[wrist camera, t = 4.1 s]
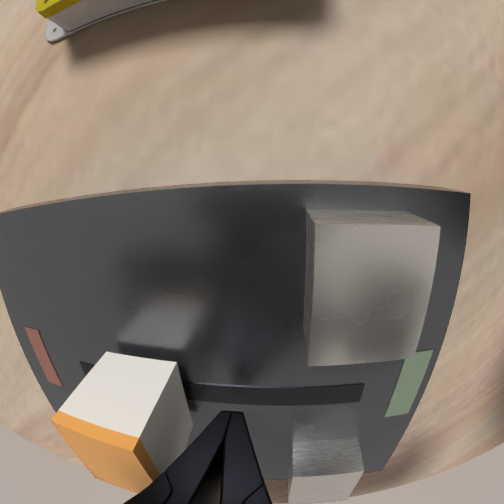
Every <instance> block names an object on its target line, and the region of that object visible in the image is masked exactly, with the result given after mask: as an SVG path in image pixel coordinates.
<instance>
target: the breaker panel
mask: <svg viewBox="0 0 504 504" xmlns="http://www.w3.org/2000/svg"><path fill="white" fill-rule="evenodd" d="M469 209H470V193H466V192H462V191H457V190H452V189H447V188H442V187H433V186H422V185H410V184H396V183H379V182H357V181H316V180H284V181H242V182H220V183H203V184H188V185H175V186H163V187H152V188H142V189H133V190H124V191H116V192H108V193H100V194H93V195H86V196H80V197H73V198H67V199H61V200H55V201H49V202H44V203H38V204H33V205H28V206H23V207H18V208H13V209H9V210H6V211H2V212H0V289H1V292H2V295H3V299H4V302H5V305H6V308H7V311H8V314H9V316H10V319H11V322H12V325H13V327H14V330H15V332H16V335H17V337H18V340H19V342H20V345H21V347H22V349H23V351H24V354H25V356H26V358H27V360H28V362H29V364H30V366H31V369H32V371H33V373H34V375H35V377H36V378H37V380H38V382H39V384H40V386H41V388H42V390H43V391H44V393H45V395H46V397H47V399H48V400H49V402H50V404H51V405H52V407H53V409H54V410H55V412H56V413H57V411H58V410H59V409H60V408H61V406H62V405H63V404H64V402H65V401H66V400H67V399H68V397H69V396H70V395H71V394H72V392H73V391H74V390H75V389H76V388H77V386H78V385H79V384H80V383H81V381H82V380H83V379H84V378H85V377H86V375H87V374H88V373H89V372H90V371H91V369H92V368H93V367H94V366H95V365H96V363H97V362H98V361H99V360H100V359H101V357H102V356H103V355H104V354H105V353H106V352H112V353H117V354H123V355H129V356H135V357H142V358H149V359H156V360H164V361H172V362H177V364H178V369H179V373H180V377H181V381H182V385H183V389H184V393H185V397H186V401H187V404H188V408H189V411H190V415H191V419H192V422H193V428H192V431H191V433H190V436H189V439H188V442H187V445H186V448H187V447H188V446H189V445H190V444H191V443H192V442H193V441H194V440H195V439H196V438H197V437H198V436H199V435H200V434H201V432H202V431H203V430H204V429H205V428H206V427H207V426H208V425H209V424H210V423H211V421H212V420H213V419H214V418H215V417H216V416H217V415H218V414H219V412H220V411H222V410H226V411H240V412H243V413H244V416H245V420H246V423H247V427H248V430H249V433H250V437H251V440H252V444H253V447H254V450H255V454H256V457H257V460H258V463H259V466H260V470H261V473H262V476H263V479H274V480H288V504H306V503H321V502H332V501H341V500H347V499H348V497H349V495H350V494H351V492H352V491H353V489H354V488H355V486H356V484H357V483H358V481H359V479H360V478H361V476H362V474H363V473H370V472H375V471H381V470H382V469H383V468H384V466H385V465H386V463H387V462H388V460H389V458H390V457H391V455H392V453H393V452H394V450H395V448H396V447H397V445H398V443H399V441H400V440H401V438H402V436H403V434H404V432H405V430H406V428H407V427H408V425H409V423H410V421H411V419H412V417H413V415H414V413H415V411H416V408H417V406H418V404H419V402H420V400H421V398H422V395H423V393H424V391H425V388H426V386H427V384H428V381H429V379H430V376H431V374H432V371H433V369H434V366H435V363H436V361H437V358H438V355H439V352H440V349H441V346H442V343H443V340H444V337H445V334H446V331H447V327H448V324H449V321H450V317H451V313H452V310H453V306H454V302H455V298H456V293H457V289H458V284H459V280H460V275H461V270H462V264H463V258H464V252H465V245H466V238H467V230H468V221H469ZM186 448H185V450H186Z"/></svg>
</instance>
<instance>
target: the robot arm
mask: <svg viewBox="0 0 504 504" xmlns="http://www.w3.org/2000/svg"><path fill="white" fill-rule="evenodd" d="M124 504H272V502H271V499H270V496H269V494H268V491H267V488H266V485H265V482H264V479H263V476H262V473H261V470H260V466H259V463H258V460H257V457H256V454H255V450H254V447H253V444H252V440H251V437H250V433H249V430H248V427H247V423H246V420H245V416H244V413H243V412H240V411H226V410H222V411H220V412H219V414H218V415H217V416H216V417H215V418H214V419H213V420H212V421H211V423H210V424H209V425H208V426H207V427H206V428H205V429H204V430H203V431H202V432H201V434H200V435H199V436H198V437H197V438H196V439H195V440H194V441H193V442H192V443H191V444H190V445H189V446H188V447H187V448H186V450H185V451H184V452H183V453H182V454H181V455H180V456H179V457H178V458H177V459H176V460H175V461H174V462H173V463H172V464H171V465H170V466H169V467H168V468H167V469H166V470H165V472H163V473H162V474H161V475H160V476H159V477H158V478H157V479H155V480H154V481H153V482H152V483H151V484H150V485H149V486H148V487H146V488H145V489H144V490H142V491H141V492H140V493H138V494H137V495H135V496H134V497H132V498H131V499H130V500H128V501H126V502H125V503H124Z"/></svg>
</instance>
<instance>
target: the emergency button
mask: <svg viewBox="0 0 504 504" xmlns="http://www.w3.org/2000/svg"><path fill="white" fill-rule="evenodd" d="M164 1H168V0H37V2H36V7H35V10H36V11H37V12H38V13H40V14H41V15H42V16H43V17H45V18H48V19H49V21H48V24H47V28H46V32H45V39H47V40H48V41H50V42H54V41H58V40H60V39H62V38H64V37H66V36H68V35H70V34H73V33H75V32H77V31H79V30H81V29H84V28H86V27H88V26H91V25H93V24H95V23H98V22H100V21H103V20H105V19H108V18H111V17H114V16H116V15H119V14H122V13H125V12H128V11H131V10H135V9H138V8H141V7H145V6H148V5H152V4H156V3H160V2H164Z"/></svg>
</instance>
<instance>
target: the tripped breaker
mask: <svg viewBox="0 0 504 504" xmlns="http://www.w3.org/2000/svg"><path fill="white" fill-rule="evenodd" d="M51 421H52V423H53V424H54V426H55V427H56V429H57V430H58V432H59V433H60V434H61V436H62V437H63V438H64V440H65V441H66V443H67V444H68V445H69V446H70V448H71V449H72V450H73V452H74V453H75V454H76V455H77V457H78V458H79V459H80V460H81V462H82V463H83V464H84V465H85V466H86V467H87V469H88V470H89V471H90V472H91V473H92V474H93V475H94V476H95V478H97V479H100V480H102V481H105V482H107V483H110V484H112V485H115V486H118V487H121V488H123V489H126V490H129V491H132V492H135V493H140V492H141V491H142V490H144V489H145V488H146V487H148V486H149V485H150V484H151V483H152V482H153V481H154V480H155V479H157V478H158V477H159V476H160V475H161V474H162V473H163V472H165V470H166V469H167V468H168V467H169V466H170V465H171V464H172V463H173V462H174V461H175V460H176V459H177V458H178V457H179V456H180V455H181V454H182V453H183V452H184V451H185V448H186V445H187V442H188V439H189V436H190V433H191V431H192V428H193V422H192V419H191V415H190V411H189V408H188V404H187V401H186V397H185V393H184V389H183V385H182V381H181V377H180V373H179V369H178V364H177V362H172V361H164V360H156V359H149V358H142V357H135V356H129V355H123V354H117V353H112V352H106V353H105V354H104V355H103V356H102V357H101V359H100V360H99V361H98V362H97V363H96V365H95V366H94V367H93V368H92V369H91V371H90V372H89V373H88V374H87V375H86V377H85V378H84V379H83V380H82V381H81V383H80V384H79V385H78V386H77V388H76V389H75V390H74V391H73V392H72V394H71V395H70V396H69V397H68V399H67V400H66V401H65V402H64V404H63V405H62V406H61V408H60V409H59V410H58V411H57V413H56V414H55V415H54V416H53V418H52V419H51Z"/></svg>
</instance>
